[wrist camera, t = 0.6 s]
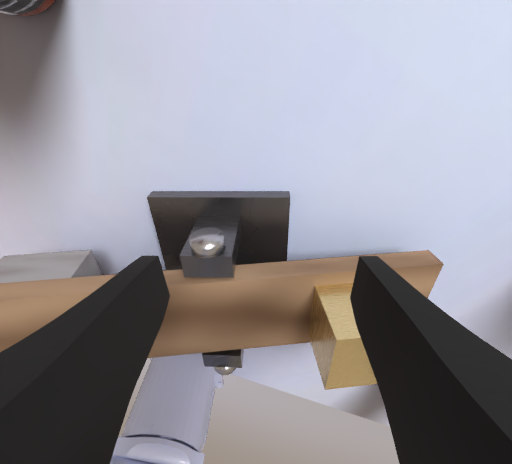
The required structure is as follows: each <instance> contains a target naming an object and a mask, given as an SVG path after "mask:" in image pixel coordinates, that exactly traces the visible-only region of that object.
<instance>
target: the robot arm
mask: <svg viewBox="0 0 512 464" xmlns="http://www.w3.org/2000/svg"><path fill="white" fill-rule="evenodd" d="M169 298H170V294H169V290H168V287H167V284H166V280H165V277H164V274H163V270H162V267H161V264H160V260H159V257H158V256H141V257H140V258H138V259H137V260H135V261H134V262H133V263H131V264H130V265H128V266H127V267H126V268H124V269H123V270H122V271H121V272H119V273H118V274H117V275H115V276H114V277H113V278H111V279H110V280H109V281H107V282H106V283H105V284H103V285H102V286H101V287H99V288H98V289H97V290H95V291H94V292H93V293H91V294H90V295H89V296H87V297H86V298H84V299H83V300H81V301H80V302H79V303H77V304H76V305H74V306H73V307H71V308H70V309H69V310H67V311H66V312H64V313H63V314H61V315H60V316H59V317H57V318H56V319H54V320H53V321H51V322H50V323H48V324H46V325H45V326H43V327H42V328H40V329H39V330H37V331H35V332H34V333H32V334H30V335H29V336H27V337H25V338H24V339H22V340H21V341H19V342H17V343H16V344H14V345H12V346H10V347H9V348H7V349H5V350H3V351H1V352H0V464H203V461H204V455H205V454H204V453H201V451H202V449H203V447H204V444H205V442H206V438H207V431H208V426H209V421H210V415H211V409H212V403H213V397H214V391H215V388H222V387H223V385H224V383H223V376H222V375H220V374H218V373H217V372H216V371H215V369H214V367H205V366H204V362H203V357H202V353H195V354H185V355H175V356H165V357H155V358H150V359H151V363H150V365H149V368H148V370H147V373H146V375H145V378H144V381H143V382H142V385H141V387H140V390H139V392H138V395H137V397H136V400H135V402H134V405H133V407H132V410H131V412H130V415H129V417H128V420H127V422H126V425H125V427H124V430H123V432H122V434H121V436H119V437H118V435H119V432H120V429H121V426H122V423H123V420H124V417H125V413H126V411H127V407H128V404H129V401H130V398H131V395H132V393H133V390H134V388H135V385H136V382H137V380H138V378H139V376H140V373H141V371H142V369H143V367H144V364H145V362H146V360H147V357H148V355H149V353H150V351H151V348H152V346H153V344H154V341H155V339H156V337H157V334H158V332H159V330H160V327H161V325H162V322H163V320H164V316H165V313H166V310H167V306H168V302H169ZM350 300H351V304H352V309H353V314H354V318H355V322H356V326H357V329H358V331H359V334H360V337H361V340H362V343H363V345H364V348H365V351H366V354H367V356H368V359H369V362H370V365H371V367H372V370H373V373H374V376H375V378H376V381H377V384H378V387H379V389H380V392H381V396H382V399H383V402H384V405H385V409H386V412H387V416H388V420H389V424H390V427H391V431H392V435H393V439H394V442H395V447H396V451H397V455H398V459H399V463H400V464H512V359H510V358H509V357H507V356H506V355H504V354H503V353H501V352H500V351H498V350H497V349H495V348H494V347H492V346H491V345H489V344H488V343H486V342H485V341H483V340H482V339H480V338H479V337H478V336H476V335H475V334H473V333H472V332H471V331H469V330H468V329H466V328H465V327H464V326H462V325H461V324H460V323H458V322H457V321H456V320H454V319H453V318H452V317H450V316H449V315H448V314H446V313H445V312H444V311H442V310H441V309H440V308H439V307H437V306H436V305H435V304H434V303H432V302H431V301H430V300H429V299H427V298H426V297H425V296H424V295H423V294H421V293H420V292H419V291H418V290H417V289H415V288H414V287H413V286H412V285H411V284H409V283H408V282H407V281H406V280H405V279H404V278H402V277H401V276H400V275H399V274H398V273H397V272H396V271H394V270H393V269H392V268H391V267H390V266H389V265H387V264H386V263H385V262H384V261H383V260H382V259H380V258H379V257H378V256H359V259H358V264H357V268H356V273H355V277H354V282H353V287H352V291H351V296H350Z"/></svg>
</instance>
